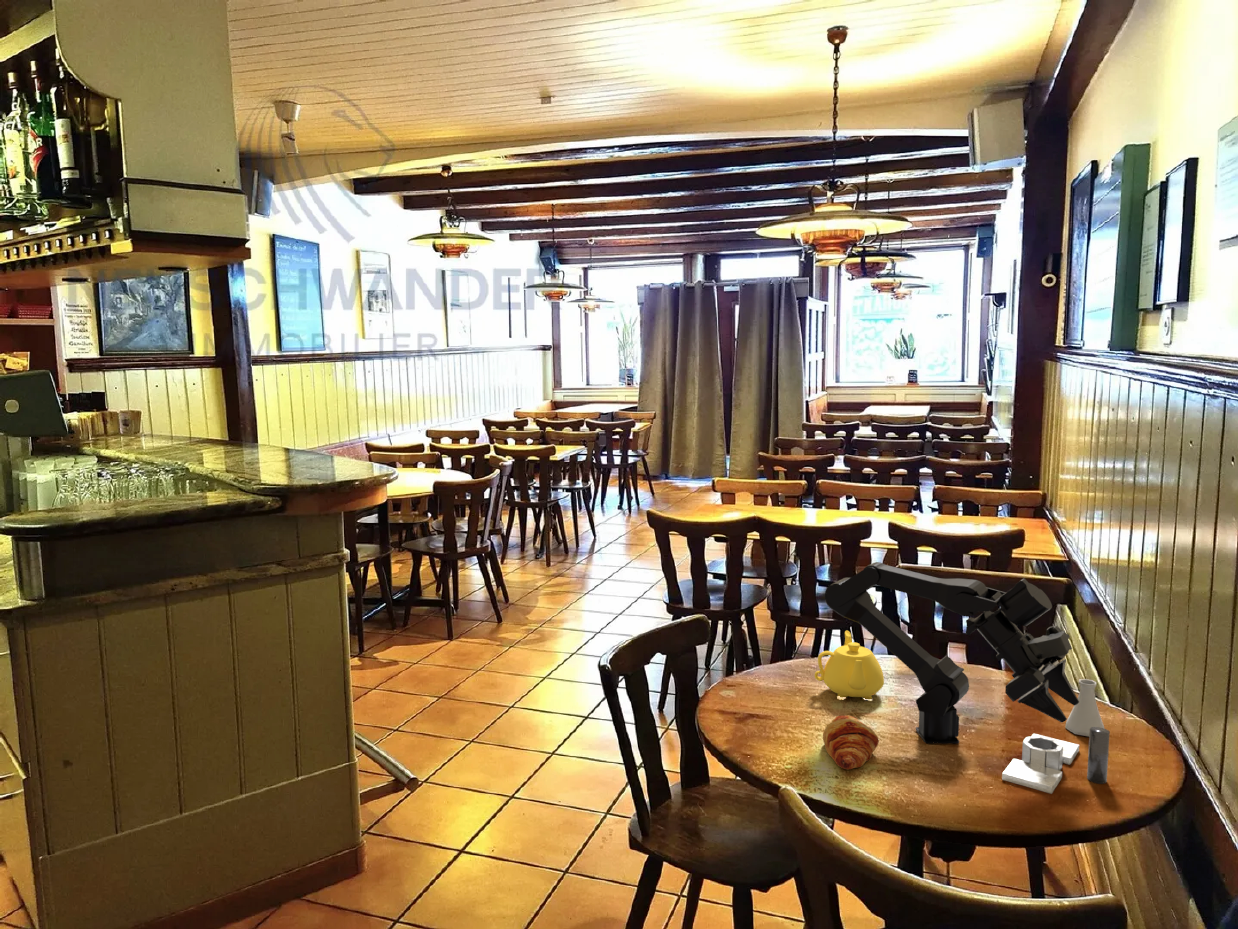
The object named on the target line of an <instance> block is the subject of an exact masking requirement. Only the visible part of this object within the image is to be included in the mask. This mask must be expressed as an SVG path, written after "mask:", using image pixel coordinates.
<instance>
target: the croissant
mask: <svg viewBox="0 0 1238 929" xmlns="http://www.w3.org/2000/svg"><path fill="white" fill-rule="evenodd" d="M822 741H823V744H824V747H825V751H826V753H827V754H828V756H830V757H831V760H833V761H834V763H835V764H836V765H837V766H838V767H839V768H841V769H843V770H848V771H849V770H852V769H858V768H860V767H863V766H864V765H865V763H866V762H868V761H869V760H870V759H871V758H872V756H873V754H874V752H875V750H876V749H877V747H878V745H879V743H880V740H879V736H878V735H877V734H876V732H875V731H874V729H872V728H871V727H870V726H868V725H866V724H865V723H864V722H862V721H860V719H858V718H857V717H854V716H852V715H837V716H836V717H835V718H833V719H832V720H831V722H829V723H827V724H826V726H825V728H824V730H823V733H822Z"/></svg>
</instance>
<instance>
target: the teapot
mask: <svg viewBox="0 0 1238 929" xmlns="http://www.w3.org/2000/svg"><path fill="white" fill-rule="evenodd" d="M844 638H845V639H844V644H843V645H841V646H838V647H836V649H835V650H834V651H831V650H824V651H821V652H820V653H819V654H818V656H817V664H818V665H817V666H818V668H819V670H816V671H815V672H814V678H815V680H816V681H819V682H823V683H824V685H826V686H827V688H828V689H829V690H830V691H832V692H833V693H834V694H836V695H838V696H840V697H847V698H848V697H852V698H862V697H863V698H865V699H872V698H873V697H872V696H873V695H876V694H877V693H879V691H880V690H881V689H882V688H883V687H884V684H885V678H884V671H883V670H882V667H881V665H880V663H879V660H878V659H877V658H876V655H875V654H874V653H873V652H872V650H870V649H869V648H867V647H865V646H861V645H860V643H858V642H853V639H852V633H851V632H850V631H849V630H845V631H844ZM824 656H829V658H828V659H827V661H826V663H825V664H824V667H823V662H822V661H823V660H822V659H823V657H824ZM818 675H820V676H818Z"/></svg>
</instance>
